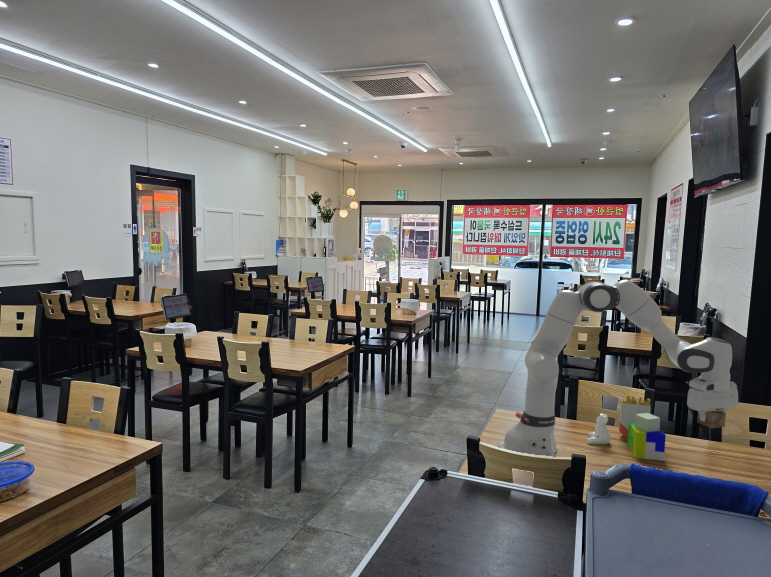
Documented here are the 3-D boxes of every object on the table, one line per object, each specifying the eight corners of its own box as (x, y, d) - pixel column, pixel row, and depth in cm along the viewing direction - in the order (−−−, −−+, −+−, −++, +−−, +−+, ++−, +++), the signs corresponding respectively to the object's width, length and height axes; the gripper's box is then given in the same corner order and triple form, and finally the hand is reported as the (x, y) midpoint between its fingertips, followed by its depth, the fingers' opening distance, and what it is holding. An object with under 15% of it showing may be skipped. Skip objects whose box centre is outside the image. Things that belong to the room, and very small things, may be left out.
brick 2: (712, 428, 179) (713, 414, 178) (697, 422, 184) (698, 409, 184) (724, 426, 181) (726, 413, 180) (709, 420, 186) (710, 407, 186)
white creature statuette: (589, 436, 211) (590, 408, 210) (611, 439, 207) (613, 411, 206) (586, 443, 202) (588, 414, 201) (610, 448, 198) (611, 418, 197)
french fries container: (618, 433, 214) (621, 392, 212) (647, 437, 210) (649, 395, 208) (619, 437, 209) (621, 395, 208) (648, 441, 205) (651, 398, 204)
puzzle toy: (664, 460, 187) (665, 434, 186) (635, 458, 189) (636, 432, 188) (655, 450, 197) (656, 425, 196) (627, 447, 199) (629, 423, 198)
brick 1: (646, 432, 189) (647, 419, 188) (634, 426, 194) (635, 414, 194) (659, 430, 190) (660, 417, 190) (646, 425, 196) (647, 412, 196)
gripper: (728, 378, 187) (725, 415, 188) (685, 381, 181) (682, 419, 182) (745, 383, 181) (741, 420, 182) (700, 386, 175) (697, 425, 176)
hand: (711, 420), depth 182 cm, fingers closed on brick 2, 6 cm apart
